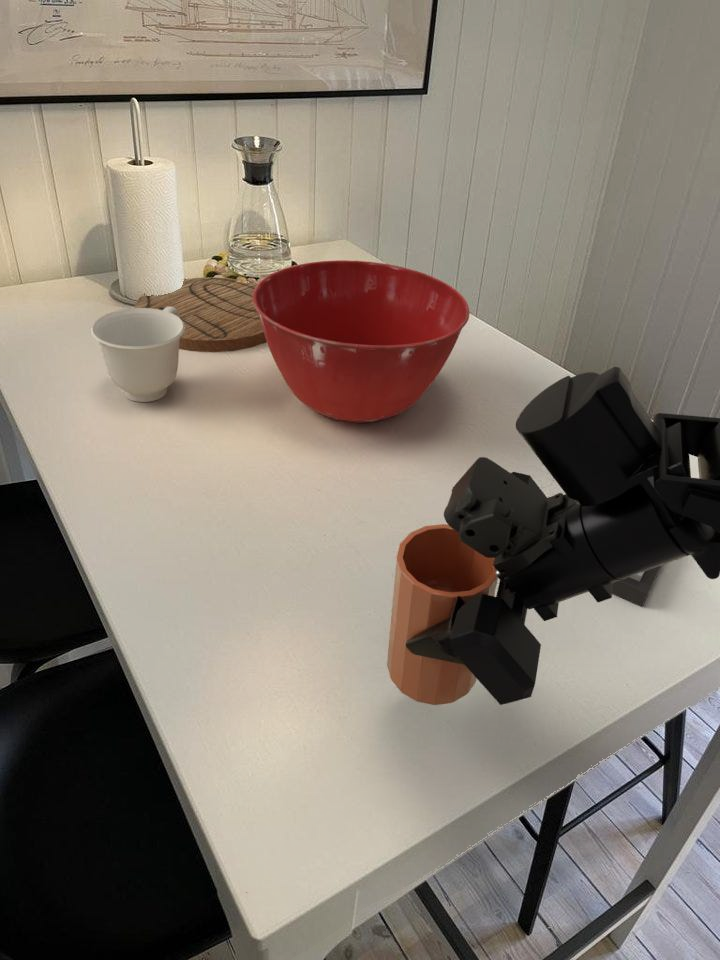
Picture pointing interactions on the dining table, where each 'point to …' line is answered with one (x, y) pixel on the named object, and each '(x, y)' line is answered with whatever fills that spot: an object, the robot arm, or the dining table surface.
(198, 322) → the trivet
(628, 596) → the scale
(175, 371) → the teacup
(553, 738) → the dining table surface
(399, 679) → the orange faceted cup
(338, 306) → the mixing bowl
